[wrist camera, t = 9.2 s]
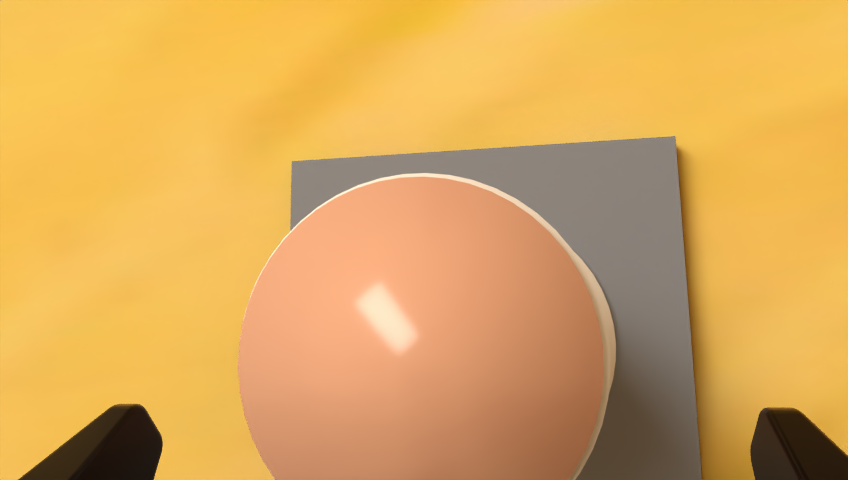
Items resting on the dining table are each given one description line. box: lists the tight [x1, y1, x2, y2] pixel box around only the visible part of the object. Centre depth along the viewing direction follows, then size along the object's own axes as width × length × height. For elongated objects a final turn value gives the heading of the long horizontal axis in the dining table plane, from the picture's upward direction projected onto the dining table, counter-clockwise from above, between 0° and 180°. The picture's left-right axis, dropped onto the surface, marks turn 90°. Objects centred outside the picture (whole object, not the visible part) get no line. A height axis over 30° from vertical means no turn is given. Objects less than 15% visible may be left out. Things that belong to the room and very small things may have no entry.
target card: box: [291, 136, 702, 480], centre depth 17 cm, size 11×11×1 cm
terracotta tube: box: [238, 173, 611, 480], centre depth 12 cm, size 5×5×9 cm
